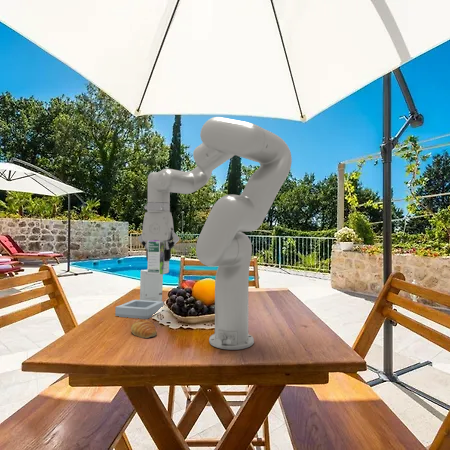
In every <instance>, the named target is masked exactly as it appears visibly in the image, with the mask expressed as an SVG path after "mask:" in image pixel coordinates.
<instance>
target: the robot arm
mask: <svg viewBox="0 0 450 450" xmlns="http://www.w3.org/2000/svg"><path fill="white" fill-rule="evenodd" d="M200 140H201V142H202V143H200V144H199V145H198V146H196V147H195V148H194V150H193V153H192V154H193V155H192V156H193V159H194V160H193V161H194V162H195V164H196V167H194V168H193V169H192V170H190V171H188V172H186V171H183V170H178V169H173V168H163V169H161V170H160V171H158V172H157V171H153V172H150V173H149V174H148V175H147V203H146V205H144V210H146V211H145V213H144V217H143V222H142V231H141V232H142V233H141V234H140V235H139V236H138V237H137V241H138V242H140V244H141V245H142V246H143V247H144V249H145V252H146V253H145V255H146V257H145V258H146V261H147V262H148V240H159V241H164V245H165V248H166V249H165V250H164V261H169V262H170V261H171V257H172V249H173V247H175V245H176V244H177V243H178V242H179V241H180V237H179V236H178V235H177V234H176V233H175V230H174V219H173V216H172V212H171V206H170V205H171V203H170V201H171V197H170V195H171V194H170V193H175V194H176V193H177V194H181V195H182V194H183V195H190V194H192V193H195V192H197V191H198V190H200V189H201V188H203V187H204V186H206V184H207V183H208V182H209V180H210V179H211V177H212V173H213V171H214V170H216V169H217V168H218V167H220V166H221V165H223V164H225V163H226V162H227V161H229V160H231V159H232V158H233V157H234V156H237V157H239V158H242V159H246V160H249V161H253V162H255V163H258V164H260V165H259V168H257V169H256V170H255V171H254V172H253V174H251V176H250V177H249V179H248V180H247V183H246V185H245V187H244V189H243V190H242V192H241V193H240V194H239V195H238V194H234V193H233V194H226V195H224V196H222V197H220V198H219V199H218V200H217V201H216V202H215V203H214V204H213V205H212V208H211V210H210V212H209V214H208V216H207V218H206V220H205V223H204V225H203V227H202V229H201V232H200V234H199V235H198V238H197V241H196V245H195V254H196V257H197V260H198V261H199V262H200V263H201V264H203V265H204V266H206V267H217V269H216V273H215V280H214V333H213V334H211V335H210V336H209V339H208V342H209V344H210V345H211V346H212V347H215V348H217V349H222V350H230V351H235V350H244V349H248V348H250V347H252V346H253V345H254V343H255V341H254V336H253V335H251V334H250V333H249V285H250V284H249V281H250V280H249V275H250V266H251V265H250V264H251V259H252V253H253V246H252V245H253V244H252V241H251V239H250V238H249V237H248V235H247V234H245V233H244V232H254V231H256V230H258V229H259V228H260V226H261V225H262V224H263V223H264V220H265V218H266V217H267V214H268V213H269V211H270V209H271V207H272V205H273V203H274V201H275V199H276V196H277V195H278V193H279V191H280V189H281V187H282V186H283V184H285V183H284V182H285V181H286V179H287V177H288V176H289V173H290V171H291V167H292V162H293V161H292V160H293V158H292V153H291V148H290V147H289V145H288V144H287V143H286V141H285V140H284V139H283V138H282V137H280V136H279V135H277V134H276V133H274V132H272V131H270V130H267V129H265V128H263V127H262V126H260V125H258V124H255V123H252V122H249V121H244V120H240V119H239V120H238V119H233V118H228V117H222V116H213V117H211V118H209V119H207V120H206V121H205V122H204V124H203V125H202V127H201V128H200Z"/></svg>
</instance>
